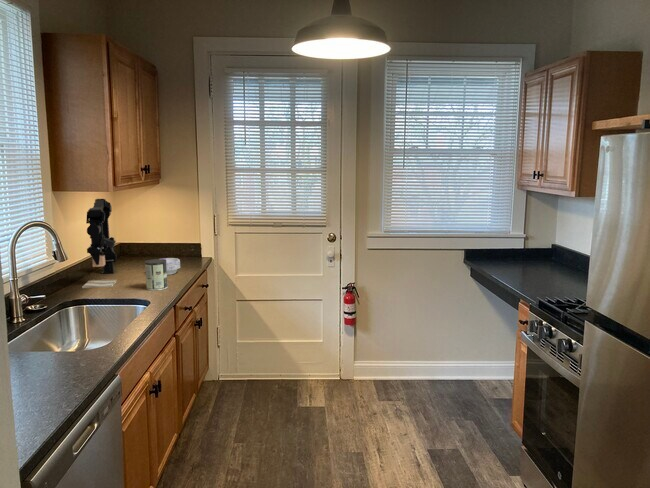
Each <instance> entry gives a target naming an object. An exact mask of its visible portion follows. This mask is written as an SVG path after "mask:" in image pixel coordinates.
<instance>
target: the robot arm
mask: <svg viewBox="0 0 650 488" xmlns="http://www.w3.org/2000/svg"><path fill="white" fill-rule="evenodd" d="M112 211H113V210H112V205H111V202H109V201H107V200H106V198H96V199H95V200H94V203H93V207H90V208H89V209H88V211H86V220H85V221H86V224H89V225H88V227H87V229H86V233H87V235H88V236H89V239H91V240H90V241H91V243H90V245H89V246H88V248H86V253H87V254H90V257H91V258H93V259H94V261H95V263H96V265H99V259H100V255H105V265H104V266H102V272H101V273H100V274H114V273H115V272H116V270H115V268H114V267H115V266H114V263H116V262H118V259H117V254H116V252H115V251H114V248H115V244H116V240H115V237H113V236H111V237H110V227H109V218H110V216H111V214H112Z"/></svg>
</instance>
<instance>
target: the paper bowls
mask: <svg viewBox="0 0 650 488" xmlns="http://www.w3.org/2000/svg"><path fill="white" fill-rule="evenodd" d="M162 259H164V260H166V268H167V276H170V275H174V274H176V273H177V272H178V269H181V259H179V258H175V257H165V258H162Z"/></svg>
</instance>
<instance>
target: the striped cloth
mask: <svg viewBox="0 0 650 488" xmlns="http://www.w3.org/2000/svg"><path fill="white" fill-rule="evenodd" d="M117 282H118V279H117V278H115V279H95V280H93V279H91V280H89V279H88V281H86V283H85V284H83V285H82V286H81V289H96V288H97V289H98V288H99V289H100V288H101V289H103V288H112V287H113V286H114V285H116V283H117Z"/></svg>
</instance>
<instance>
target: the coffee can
mask: <svg viewBox="0 0 650 488" xmlns="http://www.w3.org/2000/svg"><path fill="white" fill-rule="evenodd" d="M144 264H145V268H144V269H145V282H146V290H147V291H152V292H153V291H154V292H155V291H162V290H166V289H168V275H167V268H166V260H164V259H163V258H154V259H148V260H145V261H144Z"/></svg>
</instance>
